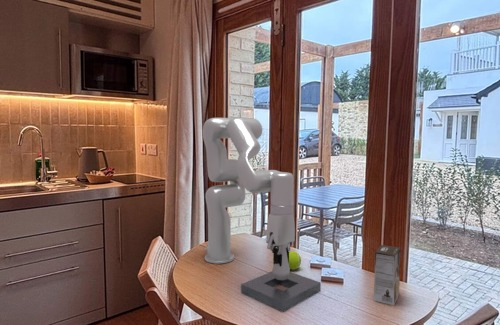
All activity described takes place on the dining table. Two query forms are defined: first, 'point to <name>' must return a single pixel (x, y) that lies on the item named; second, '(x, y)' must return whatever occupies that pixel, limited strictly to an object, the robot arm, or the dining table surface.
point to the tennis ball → (294, 260)
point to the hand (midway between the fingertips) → (281, 263)
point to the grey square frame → (276, 298)
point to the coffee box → (387, 274)
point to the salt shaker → (284, 270)
